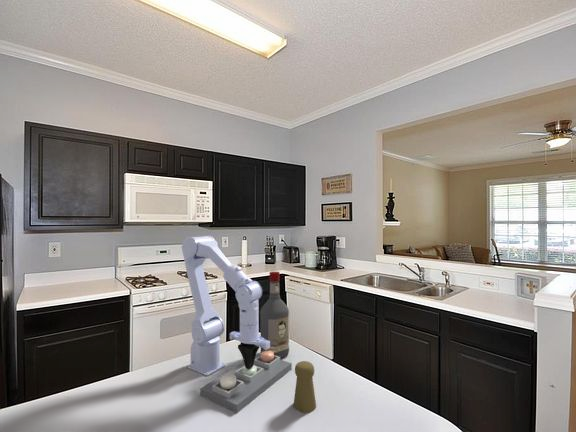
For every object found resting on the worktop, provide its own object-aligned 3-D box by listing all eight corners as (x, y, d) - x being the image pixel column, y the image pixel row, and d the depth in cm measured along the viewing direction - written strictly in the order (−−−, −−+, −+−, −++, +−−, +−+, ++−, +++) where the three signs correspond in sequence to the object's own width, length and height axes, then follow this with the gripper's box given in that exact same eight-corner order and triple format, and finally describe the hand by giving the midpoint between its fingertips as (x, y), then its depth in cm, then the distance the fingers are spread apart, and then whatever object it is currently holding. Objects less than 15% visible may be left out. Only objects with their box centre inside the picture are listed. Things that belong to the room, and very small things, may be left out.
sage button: (239, 375, 88) (239, 369, 88) (248, 369, 92) (248, 363, 92) (250, 379, 86) (250, 373, 86) (259, 373, 90) (259, 367, 90)
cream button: (216, 386, 81) (216, 379, 81) (228, 378, 85) (228, 372, 85) (228, 391, 79) (228, 384, 79) (239, 383, 82) (239, 376, 82)
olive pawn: (315, 414, 74) (314, 370, 74) (291, 411, 75) (291, 368, 75) (317, 399, 80) (317, 359, 80) (295, 397, 81) (295, 357, 81)
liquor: (257, 353, 108) (257, 272, 109) (278, 346, 114) (277, 269, 114) (271, 362, 101) (271, 275, 101) (292, 355, 106) (291, 272, 107)
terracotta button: (257, 360, 96) (257, 354, 96) (265, 354, 100) (265, 349, 100) (268, 363, 94) (268, 357, 94) (276, 358, 97) (276, 352, 97)
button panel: (200, 395, 82) (200, 383, 82) (258, 358, 104) (258, 349, 104) (237, 413, 74) (237, 399, 74) (291, 369, 96) (291, 358, 96)
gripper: (276, 323, 89) (276, 368, 89) (240, 314, 97) (240, 356, 96) (261, 330, 83) (261, 378, 83) (224, 321, 91) (224, 365, 91)
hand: (249, 367), depth 89 cm, fingers closed
